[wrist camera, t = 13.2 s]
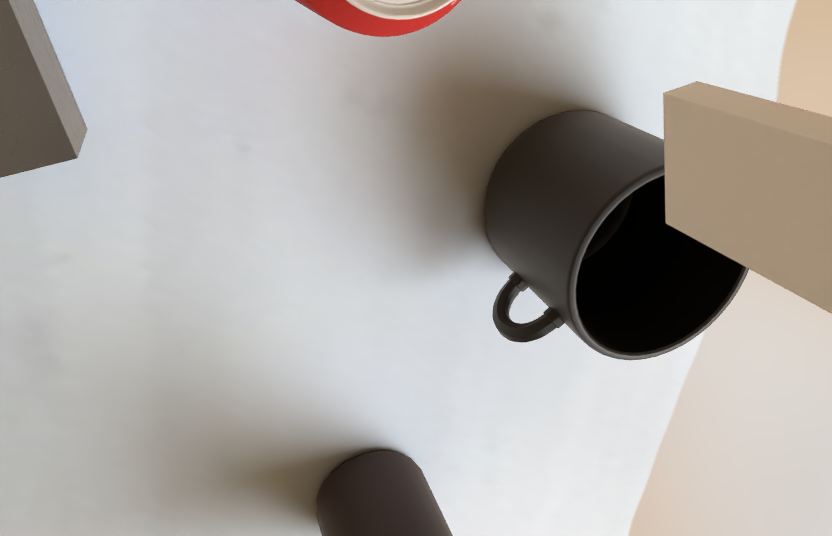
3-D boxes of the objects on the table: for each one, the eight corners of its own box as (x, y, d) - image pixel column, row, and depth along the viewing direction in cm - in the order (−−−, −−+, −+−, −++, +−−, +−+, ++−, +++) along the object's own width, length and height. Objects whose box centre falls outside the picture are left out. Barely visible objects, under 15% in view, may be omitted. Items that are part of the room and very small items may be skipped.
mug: (409, 235, 35) (479, 323, 27) (584, 68, 34) (708, 111, 26) (509, 334, 40) (592, 432, 32) (664, 191, 39) (788, 257, 31)
